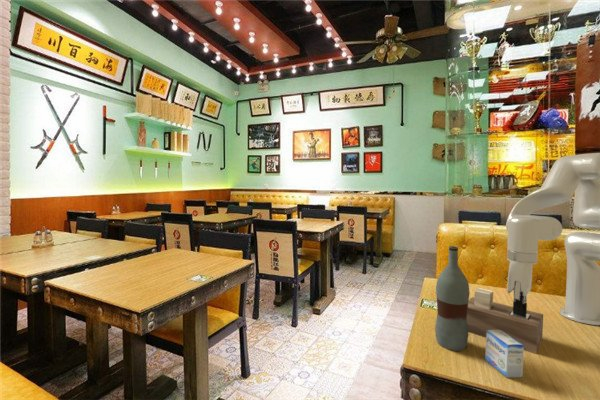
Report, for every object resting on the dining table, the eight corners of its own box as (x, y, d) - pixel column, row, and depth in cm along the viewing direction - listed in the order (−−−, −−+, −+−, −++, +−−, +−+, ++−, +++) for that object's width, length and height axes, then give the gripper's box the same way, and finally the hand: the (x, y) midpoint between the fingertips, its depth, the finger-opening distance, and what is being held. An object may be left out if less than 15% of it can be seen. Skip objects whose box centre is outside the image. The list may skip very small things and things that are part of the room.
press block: (472, 318, 107) (472, 297, 107) (542, 338, 93) (543, 314, 92) (460, 329, 99) (461, 306, 99) (536, 353, 84) (537, 326, 84)
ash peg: (477, 310, 102) (478, 287, 102) (492, 314, 99) (493, 291, 99) (474, 314, 99) (474, 290, 99) (489, 318, 96) (489, 294, 96)
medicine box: (484, 360, 82) (485, 329, 81) (499, 359, 82) (500, 329, 81) (506, 378, 74) (507, 344, 73) (523, 377, 74) (524, 344, 74)
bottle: (469, 355, 84) (472, 251, 82) (434, 347, 88) (436, 248, 86) (466, 339, 92) (469, 245, 91) (434, 333, 96) (436, 243, 95)
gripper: (512, 251, 99) (510, 304, 100) (501, 258, 89) (499, 318, 89) (540, 255, 93) (538, 311, 94) (532, 263, 83) (530, 326, 84)
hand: (519, 314), depth 92 cm, fingers closed
